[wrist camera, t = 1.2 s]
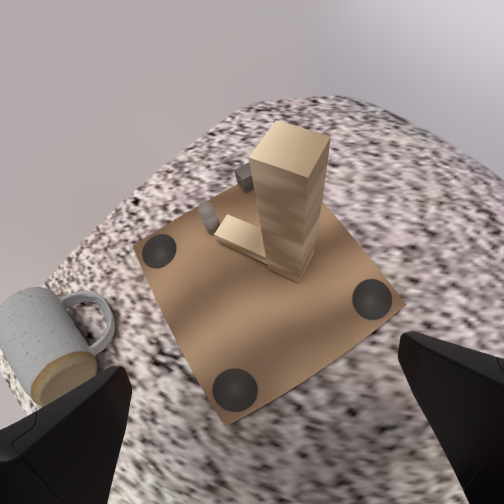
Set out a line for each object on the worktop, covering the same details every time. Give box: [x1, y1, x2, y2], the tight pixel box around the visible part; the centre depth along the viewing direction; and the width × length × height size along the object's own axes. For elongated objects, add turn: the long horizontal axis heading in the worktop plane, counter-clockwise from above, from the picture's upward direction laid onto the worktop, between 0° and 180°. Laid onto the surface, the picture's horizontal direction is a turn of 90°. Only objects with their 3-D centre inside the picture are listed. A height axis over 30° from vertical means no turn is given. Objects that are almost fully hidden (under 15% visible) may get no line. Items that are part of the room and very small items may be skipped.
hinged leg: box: [214, 121, 330, 283], centre depth 18 cm, size 7×3×12 cm, turn 61°
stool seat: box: [133, 162, 406, 427], centre depth 22 cm, size 17×16×4 cm
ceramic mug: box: [0, 287, 115, 407], centre depth 20 cm, size 11×8×8 cm
